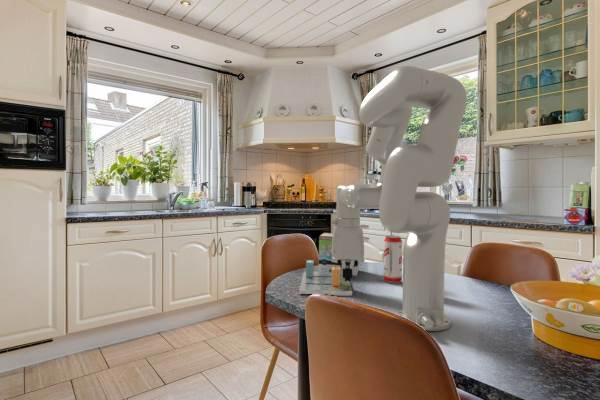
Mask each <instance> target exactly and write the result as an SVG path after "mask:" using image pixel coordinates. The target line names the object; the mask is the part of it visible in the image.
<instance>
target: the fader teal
mask: <svg viewBox="0 0 600 400" xmlns="http://www.w3.org/2000/svg"><path fill="white" fill-rule="evenodd" d="M314 262H315V260H313V259H311V260H310V259H307V260H306V263H305V271H306V277H313V275H314V272H315V271H314V270H315V269H314V266H315V263H314Z"/></svg>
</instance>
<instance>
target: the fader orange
mask: <svg viewBox="0 0 600 400" xmlns="http://www.w3.org/2000/svg"><path fill="white" fill-rule="evenodd" d="M332 286H340V268H339V267H332Z"/></svg>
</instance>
